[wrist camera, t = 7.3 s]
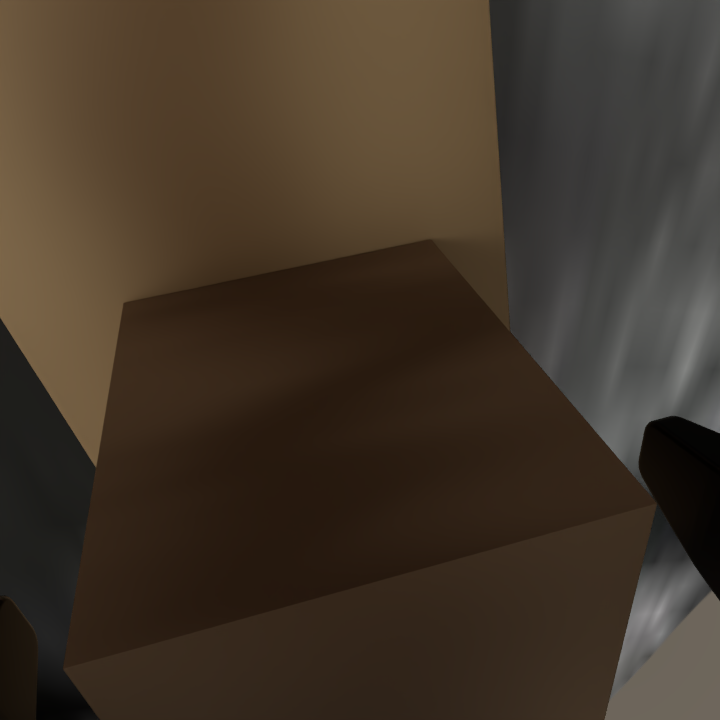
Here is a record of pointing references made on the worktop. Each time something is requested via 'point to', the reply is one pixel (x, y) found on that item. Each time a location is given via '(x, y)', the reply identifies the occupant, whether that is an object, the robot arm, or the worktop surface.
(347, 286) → the walnut block
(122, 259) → the oak slab
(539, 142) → the worktop surface
